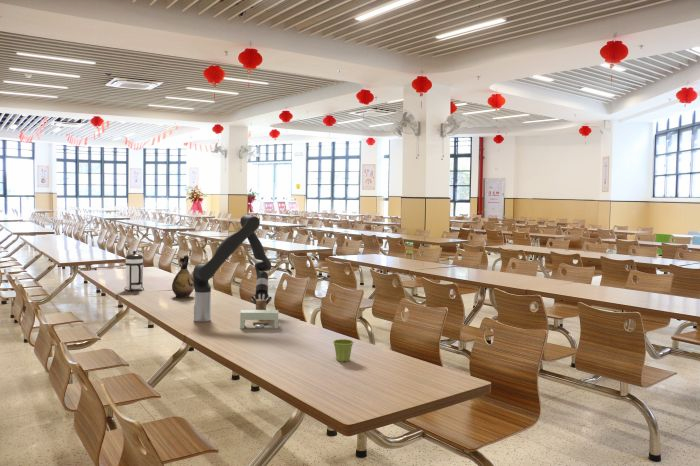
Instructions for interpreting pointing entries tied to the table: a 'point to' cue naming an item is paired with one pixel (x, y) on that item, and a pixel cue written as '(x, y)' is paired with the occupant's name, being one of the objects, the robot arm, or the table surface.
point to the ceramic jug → (183, 280)
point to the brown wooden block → (260, 306)
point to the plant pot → (343, 349)
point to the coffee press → (134, 271)
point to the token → (259, 325)
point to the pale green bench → (258, 316)
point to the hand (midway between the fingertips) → (261, 310)
